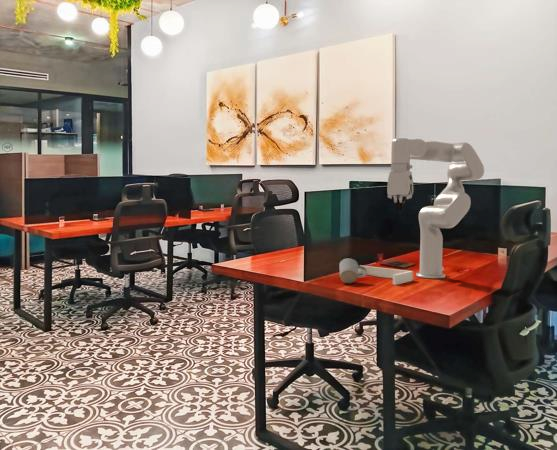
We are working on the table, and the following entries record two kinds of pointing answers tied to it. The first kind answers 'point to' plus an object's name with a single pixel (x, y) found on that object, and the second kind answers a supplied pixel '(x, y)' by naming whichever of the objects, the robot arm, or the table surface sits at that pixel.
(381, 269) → the white u-shaped bracket
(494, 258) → the table surface
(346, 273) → the ceramic mug
